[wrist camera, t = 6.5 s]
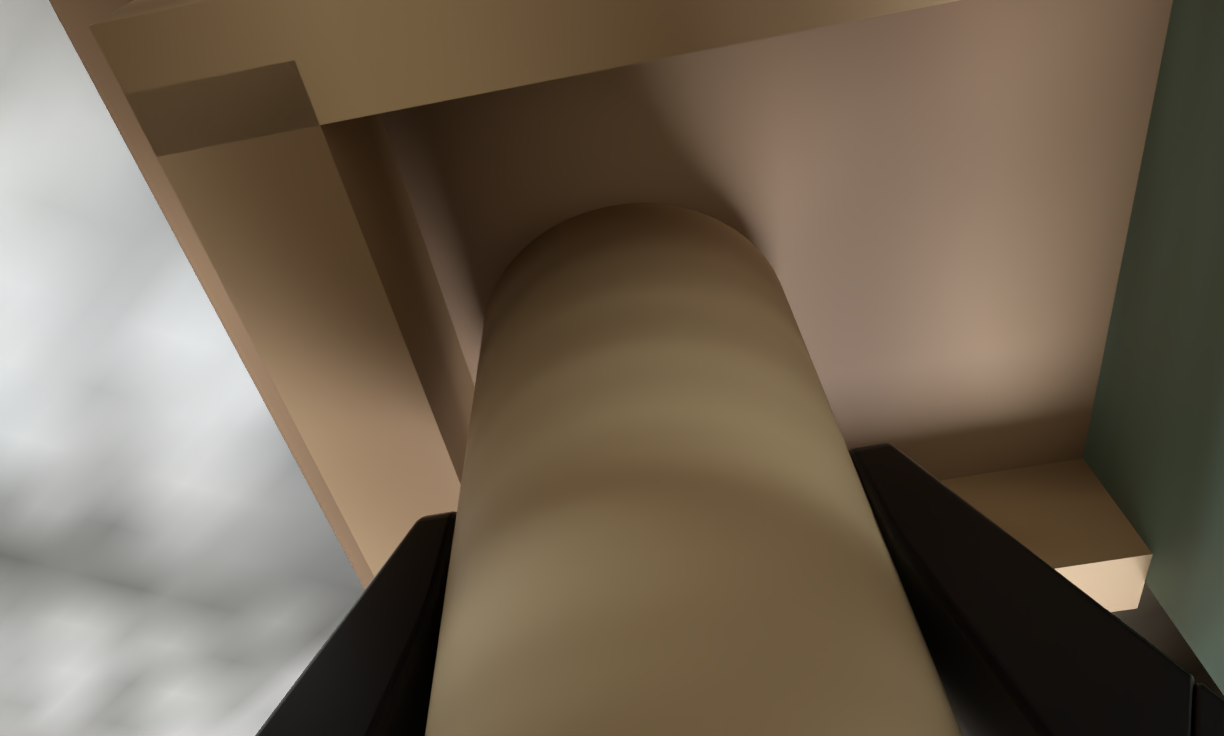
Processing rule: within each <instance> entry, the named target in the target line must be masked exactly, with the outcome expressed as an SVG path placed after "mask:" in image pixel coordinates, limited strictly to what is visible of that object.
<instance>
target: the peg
mask: <svg viewBox="0 0 1224 736" xmlns="http://www.w3.org/2000/svg"><path fill="white" fill-rule="evenodd" d="M425 736H963V733H962V731H961V728H960V726H959V724H958V721H957V719H956V716H955V714H954V711H953V709H952V706H951V704H950V701H949V699H948V696H947V694H946V691H945V689H944V686H943V684H942V681H941V679H940V676H939V674H938V672H937V669H936V667H935V664H934V662H933V659H932V657H931V654H930V652H929V649H928V647H927V644H926V642H925V639H924V637H923V634H922V632H921V629H920V627H919V624H918V622H917V620H916V617H915V615H914V612H913V610H912V607H911V605H910V602H909V600H908V597H907V595H906V592H905V590H904V587H903V585H902V582H901V580H900V577H899V575H898V572H897V570H896V568H895V565H894V563H893V560H892V558H891V555H890V553H889V550H888V548H887V545H886V543H885V540H884V538H883V535H882V533H881V530H880V528H879V525H878V523H877V521H876V518H875V516H874V513H873V511H872V508H871V506H870V503H869V501H868V498H867V496H866V493H865V491H864V488H863V486H862V483H861V481H860V478H859V476H858V473H857V471H856V468H855V466H854V464H853V461H852V459H851V456H850V454H849V451H848V449H847V446H846V444H845V441H844V439H843V436H842V434H841V431H840V429H839V426H838V424H837V421H836V419H835V416H834V414H833V412H832V409H831V407H830V404H829V402H828V399H827V397H826V394H825V392H824V389H823V387H822V384H821V382H820V379H819V377H818V374H817V372H816V369H815V367H814V364H813V362H812V359H811V357H810V355H809V352H808V350H807V347H806V345H805V342H804V340H803V337H802V335H801V332H800V330H799V327H798V325H797V322H796V320H795V317H794V315H793V312H792V310H791V307H790V305H789V303H788V300H787V298H786V295H785V293H784V290H783V288H782V285H781V283H780V281H779V279H778V277H777V275H776V273H775V271H774V269H773V268H772V266H771V265H770V263H769V262H768V261H767V259H766V258H765V257H764V255H763V254H762V253H761V252H760V251H759V250H758V249H757V248H756V247H755V246H754V245H753V244H752V243H751V242H750V241H749V240H748V239H747V238H745V237H744V236H743V235H742V234H740V233H739V232H738V231H736V230H735V229H734V228H732V227H730V226H728V225H726V224H725V223H723V222H721V221H719V220H717V219H715V218H713V217H710V216H708V215H705V214H703V213H700V212H698V211H694V210H690V209H686V208H682V207H678V206H673V205H665V204H656V203H630V204H622V205H613V206H608V207H604V208H599V209H595V210H591V211H588V212H585V213H582V214H580V215H577V216H575V217H572V218H569V219H567V220H565V221H563V222H561V223H560V224H558V225H556V226H554V227H552V228H550V229H548V230H547V231H546V232H544V233H543V234H541V235H540V236H539V237H537V238H536V239H534V240H533V241H532V242H531V243H529V244H528V245H527V246H526V247H525V248H524V249H523V250H522V251H521V252H520V253H519V254H518V255H517V256H516V257H515V258H514V259H513V261H512V262H511V263H510V264H509V266H508V267H507V268H506V269H505V271H504V272H503V274H502V276H501V277H500V279H499V281H498V282H497V284H496V286H495V288H494V291H493V293H492V296H491V298H490V300H489V303H488V307H487V311H486V316H485V320H484V327H483V334H482V341H481V348H480V355H479V362H478V369H477V375H476V382H475V389H474V396H473V403H472V410H471V417H470V424H469V431H468V438H467V445H466V452H465V459H464V466H463V473H462V480H461V487H460V494H459V501H458V508H457V515H456V522H455V529H454V536H453V543H452V550H451V557H450V564H449V570H448V577H447V584H446V591H445V598H444V605H443V612H442V619H441V626H440V633H439V640H438V647H437V654H436V661H435V668H434V675H433V682H432V689H431V696H430V703H429V710H428V717H427V724H426V731H425Z"/></svg>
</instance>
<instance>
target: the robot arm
mask: <svg viewBox="0 0 1224 736" xmlns="http://www.w3.org/2000/svg"><path fill="white" fill-rule="evenodd" d="M849 454H850V456H851V459H852V461H853V464H854V466H855V468H856V471H857V473H858V476H859V478H860V481H861V483H862V486H863V488H864V491H865V493H866V496H867V498H868V501H869V503H870V506H871V508H872V511H873V513H874V516H875V518H876V521H877V523H878V525H879V528H880V530H881V533H882V535H883V538H884V540H885V543H886V545H887V548H888V550H889V553H890V555H891V558H892V560H893V563H894V565H895V568H896V570H897V572H898V575H899V577H900V580H901V582H902V585H903V587H904V590H905V592H906V595H907V597H908V600H909V602H910V605H911V607H912V610H913V612H914V615H915V617H916V620H917V622H918V624H919V627H920V629H921V632H922V634H923V637H924V639H925V642H926V644H927V647H928V649H929V652H930V654H931V657H932V659H933V662H934V664H935V667H936V669H937V672H938V674H939V676H940V679H941V681H942V684H943V686H944V689H945V691H946V694H947V696H948V699H949V701H950V704H951V706H952V709H953V711H954V714H955V716H956V719H957V721H958V724H959V726H960V728H961V731H962V733H963V736H1224V699H1223V698H1221V697H1220V696H1219V695H1218V694H1216V693H1215V692H1214V691H1212V690H1211V689H1210V688H1209V687H1207V686H1206V685H1205V684H1202V683H1198V684H1195V686H1194V677H1193V676H1192V675H1191V674H1190V673H1188V672H1187V671H1186V670H1185V669H1183V668H1182V667H1181V666H1179V665H1178V664H1177V663H1175V662H1174V661H1173V660H1172V659H1170V658H1169V657H1168V656H1166V655H1165V654H1164V653H1163V652H1161V651H1160V650H1159V649H1157V648H1156V647H1155V646H1153V645H1152V644H1151V643H1150V642H1148V641H1147V640H1146V639H1144V638H1143V637H1142V636H1140V635H1139V634H1138V633H1137V632H1135V631H1134V630H1133V629H1131V628H1130V627H1129V626H1127V625H1126V624H1125V623H1124V622H1122V621H1121V620H1120V619H1118V618H1117V617H1116V616H1115V615H1113V614H1112V613H1111V612H1109V611H1108V610H1107V609H1105V608H1104V607H1103V606H1102V605H1100V604H1099V603H1098V602H1096V601H1095V600H1094V599H1092V598H1091V597H1090V596H1089V595H1087V594H1086V593H1085V592H1083V591H1082V590H1081V589H1080V588H1078V587H1077V586H1076V585H1074V584H1073V583H1072V582H1070V581H1069V580H1068V579H1067V578H1065V577H1064V576H1063V575H1061V574H1060V573H1059V572H1057V571H1056V570H1055V569H1054V568H1052V567H1051V566H1050V565H1048V564H1047V563H1046V562H1045V561H1043V560H1042V559H1041V558H1039V557H1038V556H1037V555H1035V554H1034V553H1033V552H1032V551H1030V550H1029V549H1028V548H1026V547H1025V546H1024V545H1022V544H1021V543H1020V542H1019V541H1017V540H1016V539H1015V538H1013V537H1012V536H1011V535H1009V534H1008V533H1007V532H1006V531H1004V530H1003V529H1002V528H1000V527H999V526H998V525H997V524H995V523H994V522H993V521H991V520H990V519H989V518H987V517H986V516H985V515H984V514H982V513H981V512H980V511H978V510H977V509H976V508H974V507H973V506H972V505H971V504H969V503H968V502H967V501H965V500H964V499H963V498H962V497H960V496H959V495H958V494H956V493H955V492H954V491H952V490H951V489H950V488H949V487H947V486H946V485H945V484H943V483H942V482H941V481H939V480H938V479H937V478H936V477H934V476H933V475H932V474H930V473H929V472H928V471H926V470H925V469H924V468H923V467H921V466H920V465H919V464H917V463H916V462H915V461H914V460H912V459H911V458H910V457H908V456H907V455H906V454H904V453H903V452H902V451H901V450H899V449H898V448H897V447H895V446H894V445H892V444H890V443H887V442H881V443H874V444H868V445H862V446H856V447H852V448H851V449H850V450H849ZM456 515H457V512H454V511H452V512H445V513H439V514H433V515H427V516H423V517H421V518H420V519H419V520H417V521H416V523H415V524H414V525H413V526H412V528H411V529H410V530H409V532H408V533H407V534H406V536H405V537H404V538H403V540H402V541H401V542H400V544H399V545H398V546H397V548H396V549H395V550H394V552H393V553H392V554H391V556H390V557H389V558H388V560H387V561H386V562H385V564H384V565H383V566H382V568H381V569H380V570H379V572H378V573H377V574H376V576H375V577H374V578H373V580H372V581H371V582H370V584H369V585H368V586H367V588H366V589H365V590H364V592H363V593H362V594H361V596H360V597H359V598H358V600H357V601H356V602H355V604H354V605H353V606H352V608H351V609H350V610H349V612H348V613H347V614H346V616H345V617H344V618H343V620H342V621H341V622H340V624H339V625H338V626H337V628H336V629H335V630H334V632H333V633H332V634H331V636H330V637H329V638H328V640H327V641H326V642H325V644H324V645H323V646H322V648H321V649H320V650H319V652H318V653H317V654H316V656H315V657H314V658H313V660H312V661H311V662H310V664H309V665H308V666H307V667H306V669H305V670H304V671H303V673H302V674H301V675H300V677H299V678H298V679H297V681H296V682H295V683H294V685H293V686H292V687H291V689H290V690H289V691H288V693H287V694H286V695H285V697H284V698H283V699H282V701H281V702H280V703H279V705H278V706H277V707H276V709H275V710H274V711H273V713H272V714H271V715H270V717H269V718H268V719H267V721H266V722H265V723H264V725H263V726H262V727H261V729H260V730H259V731H258V733H257V734H256V735H255V736H425V731H426V724H427V717H428V710H429V703H430V696H431V689H432V682H433V675H434V668H435V661H436V654H437V647H438V640H439V633H440V626H441V619H442V612H443V605H444V598H445V591H446V584H447V577H448V570H449V564H450V557H451V550H452V543H453V536H454V529H455V522H456Z"/></svg>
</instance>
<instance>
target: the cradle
mask: <svg viewBox="0 0 1224 736" xmlns="http://www.w3.org/2000/svg"><path fill="white" fill-rule="evenodd" d="M49 1H50V3H51V5H52V7H53V9H54V10H55V12H56V14H57V16H58V18H59V20H60V22H61V24H62V25H63V27H64V29H65V31H66V33H67V35H68V37H69V38H70V40H71V42H72V44H73V46H74V48H75V50H76V52H77V53H78V55H79V57H80V59H81V61H82V63H83V65H84V66H85V68H86V70H87V72H88V74H89V76H90V78H91V80H92V81H93V83H94V85H95V87H96V89H97V91H98V93H99V94H100V96H101V98H102V100H103V102H104V104H105V106H106V108H107V109H108V111H109V113H110V115H111V117H112V119H113V121H114V122H115V124H116V126H117V128H118V130H119V132H120V134H121V136H122V137H123V139H124V141H125V143H126V145H127V147H128V149H129V150H130V152H131V154H132V156H133V158H134V160H135V162H136V163H137V165H138V167H139V169H140V171H141V173H142V175H143V177H144V178H145V180H146V182H147V184H148V186H149V188H150V190H151V191H152V193H153V195H154V197H155V199H156V201H157V203H158V205H159V206H160V208H161V210H162V212H163V214H164V216H165V218H166V219H167V221H168V223H169V225H170V227H171V229H172V231H173V233H174V234H175V236H176V238H177V240H178V242H179V244H180V246H181V247H182V249H183V251H184V253H185V255H186V257H187V259H188V261H189V262H190V264H191V266H192V268H193V270H194V272H195V274H196V275H197V277H198V279H199V281H200V283H201V285H202V287H203V289H204V290H205V292H206V294H207V296H208V298H209V300H210V302H211V303H212V305H213V307H214V309H215V311H216V313H217V315H218V317H219V318H220V320H221V322H222V324H223V326H224V328H225V330H226V331H227V333H228V335H229V337H230V339H231V341H232V343H233V345H234V346H235V348H236V350H237V352H238V354H239V356H240V358H241V359H242V361H243V363H244V365H245V367H246V369H247V371H248V373H249V374H250V376H251V378H252V380H253V382H254V384H255V386H256V387H257V389H258V391H259V393H260V395H261V397H262V399H263V401H264V402H265V404H266V406H267V408H268V410H269V412H270V414H271V415H272V417H273V419H274V421H275V423H276V425H277V427H278V429H279V430H280V432H281V434H282V436H283V438H284V440H285V442H286V443H287V445H288V447H289V449H290V451H291V453H292V455H293V457H294V458H295V460H296V462H297V464H298V466H299V468H300V470H301V471H302V473H303V475H304V477H305V479H306V481H307V483H308V485H309V486H310V488H311V490H312V492H313V494H314V496H315V498H316V499H317V501H318V503H319V505H320V507H321V509H322V511H323V513H324V514H325V516H326V518H327V520H328V522H329V524H330V526H331V527H332V529H333V531H334V533H335V535H336V537H337V539H338V541H339V542H340V544H341V546H342V548H343V550H344V552H345V554H346V555H347V557H348V559H349V561H350V563H351V565H352V567H353V569H354V570H355V572H356V574H357V576H358V578H359V580H360V582H361V583H362V585H363V587H364V589H366V588H367V586H368V585H369V584H370V582H371V581H372V580H373V578H374V577H375V576H376V574H377V573H378V572H379V570H380V569H381V568H382V566H383V565H384V564H385V562H386V561H387V560H388V558H389V557H390V556H391V554H392V553H393V552H394V550H395V549H396V548H397V546H398V545H399V544H400V542H401V541H402V540H403V538H404V537H405V536H406V534H407V533H408V532H409V530H410V529H411V528H412V526H413V525H414V524H415V523H416V521H417V520H419V519H420V518H421V517H423V516H427V515H433V514H439V513H445V512H452V511H454V512H457V508H458V501H459V494H460V487H461V480H462V473H463V466H464V459H465V452H466V445H467V438H468V431H469V424H470V417H471V410H472V403H473V396H474V389H475V382H476V375H477V369H478V362H479V355H480V348H481V341H482V334H483V327H484V320H485V316H486V311H487V307H488V303H489V300H490V298H491V296H492V293H493V291H494V288H495V286H496V284H497V282H498V281H499V279H500V277H501V276H502V274H503V272H504V271H505V269H506V268H507V267H508V266H509V264H510V263H511V262H512V261H513V259H514V258H515V257H516V256H517V255H518V254H519V253H520V252H521V251H522V250H523V249H524V248H525V247H526V246H527V245H528V244H529V243H531V242H532V241H533V240H534V239H536V238H537V237H539V236H540V235H541V234H543V233H544V232H546V231H547V230H548V229H550V228H552V227H554V226H556V225H558V224H560V223H561V222H563V221H565V220H567V219H569V218H572V217H575V216H577V215H580V214H582V213H585V212H588V211H591V210H595V209H599V208H604V207H608V206H613V205H622V204H630V203H656V204H665V205H673V206H678V207H682V208H686V209H690V210H694V211H698V212H700V213H703V214H705V215H708V216H710V217H713V218H715V219H717V220H719V221H721V222H723V223H725V224H726V225H728V226H730V227H732V228H734V229H735V230H736V231H738V232H739V233H740V234H742V235H743V236H744V237H745V238H747V239H748V240H749V241H750V242H751V243H752V244H753V245H754V246H755V247H756V248H757V249H758V250H759V251H760V252H761V253H762V254H763V255H764V257H765V258H766V259H767V261H768V262H769V263H770V265H771V266H772V268H773V269H774V271H775V273H776V275H777V277H778V279H779V281H780V283H781V285H782V288H783V290H784V293H785V295H786V298H787V300H788V303H789V305H790V307H791V310H792V312H793V315H794V317H795V320H796V322H797V325H798V327H799V330H800V332H801V335H802V337H803V340H804V342H805V345H806V347H807V350H808V352H809V355H810V357H811V359H812V362H813V364H814V367H815V369H816V372H817V374H818V377H819V379H820V382H821V384H822V387H823V389H824V392H825V394H826V397H827V399H828V402H829V404H830V407H831V409H832V412H833V414H834V416H835V419H836V421H837V424H838V426H839V429H840V431H841V434H842V436H843V439H844V441H845V444H846V446H847V449H848V451H849V450H850V449H851V448H852V447H856V446H862V445H868V444H874V443H881V442H887V443H890V444H892V445H894V446H895V447H897V448H898V449H899V450H901V451H902V452H903V453H904V454H906V455H907V456H908V457H910V458H911V459H912V460H914V461H915V462H916V463H917V464H919V465H920V466H921V467H923V468H924V469H925V470H926V471H928V472H929V473H930V474H932V475H933V476H934V477H936V478H937V479H938V480H939V481H941V482H942V483H943V484H945V485H946V486H947V487H949V488H950V489H951V490H952V491H954V492H955V493H956V494H958V495H959V496H960V497H962V498H963V499H964V500H965V501H967V502H968V503H969V504H971V505H972V506H973V507H974V508H976V509H977V510H978V511H980V512H981V513H982V514H984V515H985V516H986V517H987V518H989V519H990V520H991V521H993V522H994V523H995V524H997V525H998V526H999V527H1000V528H1002V529H1003V530H1004V531H1006V532H1007V533H1008V534H1009V535H1011V536H1012V537H1013V538H1015V539H1016V540H1017V541H1019V542H1020V543H1021V544H1022V545H1024V546H1025V547H1026V548H1028V549H1029V550H1030V551H1032V552H1033V553H1034V554H1035V555H1037V556H1038V557H1039V558H1041V559H1042V560H1043V561H1045V562H1046V563H1047V564H1048V565H1050V566H1051V567H1052V568H1054V569H1055V570H1056V571H1057V572H1059V573H1060V574H1061V575H1063V576H1064V577H1065V578H1067V579H1068V580H1069V581H1070V582H1072V583H1073V584H1074V585H1076V586H1077V587H1078V588H1080V589H1081V590H1082V591H1083V592H1085V593H1086V594H1087V595H1089V596H1090V597H1091V598H1092V599H1094V600H1095V601H1096V602H1098V603H1099V604H1100V605H1102V606H1103V607H1104V608H1105V609H1107V610H1108V611H1109V612H1115V611H1122V610H1129V609H1136V608H1137V607H1138V604H1139V601H1140V597H1141V594H1142V590H1143V587H1144V583H1146V584H1147V586H1148V587H1149V589H1150V590H1151V592H1152V593H1153V594H1154V596H1155V597H1156V599H1157V600H1158V602H1159V603H1160V605H1161V606H1162V607H1163V609H1164V610H1165V612H1166V613H1167V615H1168V616H1169V617H1170V619H1171V620H1172V622H1173V623H1174V625H1175V626H1176V628H1177V629H1178V630H1179V632H1180V633H1181V635H1182V636H1183V638H1184V639H1185V640H1186V642H1187V643H1188V645H1189V646H1190V648H1191V649H1192V651H1193V652H1194V653H1195V655H1196V656H1197V658H1198V659H1199V661H1200V662H1201V663H1202V665H1203V666H1204V668H1205V669H1206V671H1207V672H1208V674H1209V675H1210V676H1211V678H1212V679H1213V681H1214V682H1215V684H1216V685H1217V686H1218V688H1219V689H1220V691H1221V692H1222V694H1223V695H1224V0H49Z"/></svg>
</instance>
